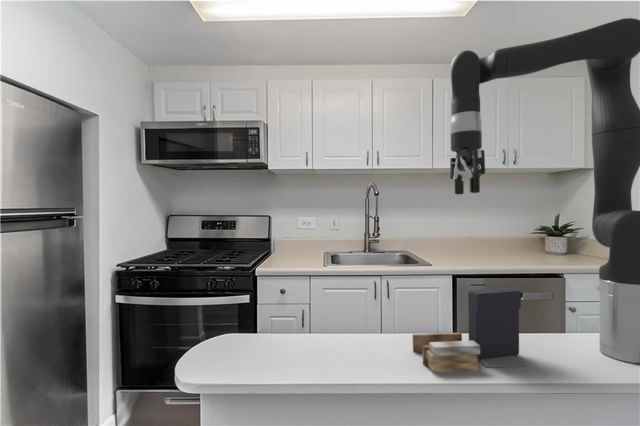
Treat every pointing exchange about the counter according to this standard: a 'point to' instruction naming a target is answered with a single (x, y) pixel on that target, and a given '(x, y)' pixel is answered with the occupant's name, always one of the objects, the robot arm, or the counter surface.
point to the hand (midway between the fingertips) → (466, 193)
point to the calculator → (494, 321)
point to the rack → (423, 341)
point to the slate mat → (502, 362)
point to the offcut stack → (453, 356)
